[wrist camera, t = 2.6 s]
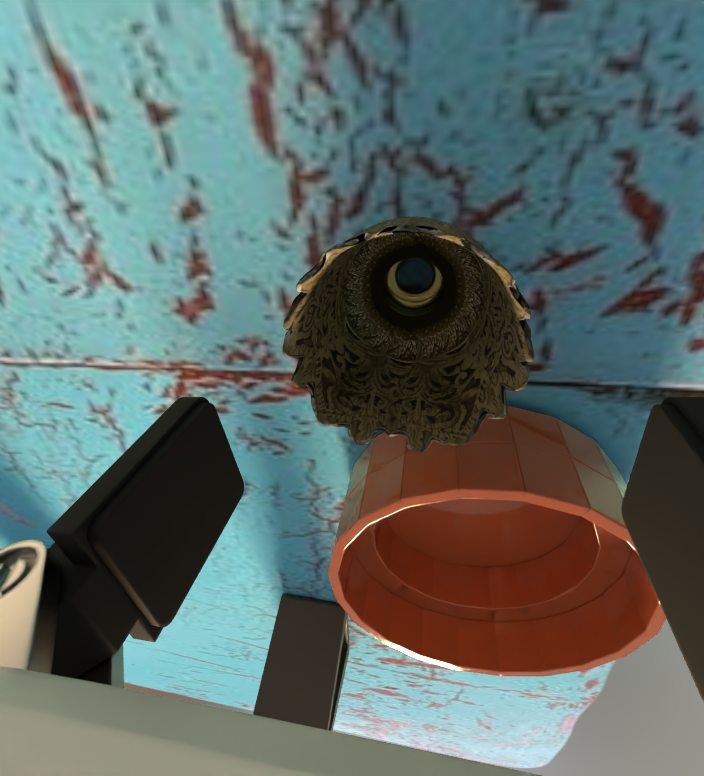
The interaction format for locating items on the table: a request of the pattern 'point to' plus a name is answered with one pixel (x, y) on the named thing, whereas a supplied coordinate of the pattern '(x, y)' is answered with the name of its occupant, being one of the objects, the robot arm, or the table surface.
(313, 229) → the table surface
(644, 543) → the robot arm
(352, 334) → the cup
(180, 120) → the table surface
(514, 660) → the bowl
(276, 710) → the door stopper
